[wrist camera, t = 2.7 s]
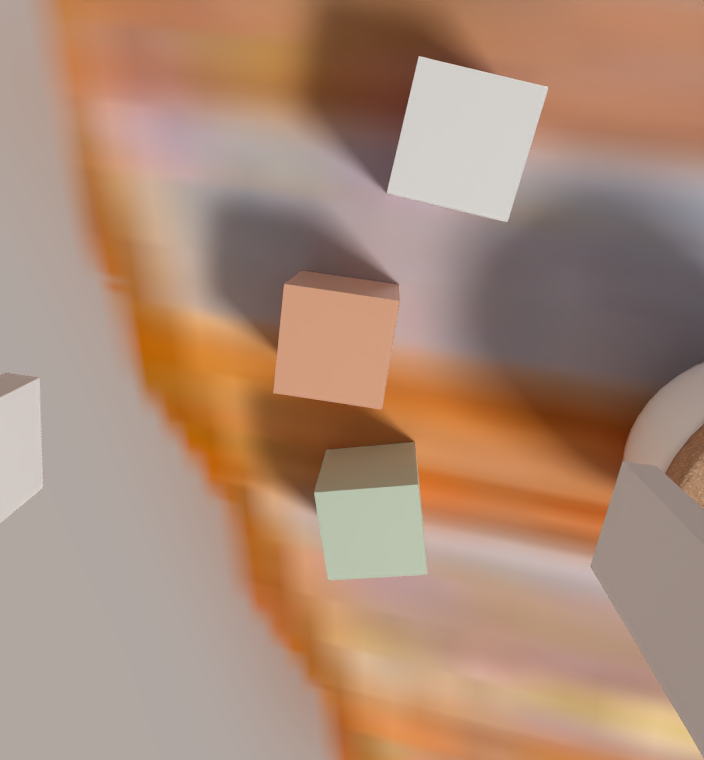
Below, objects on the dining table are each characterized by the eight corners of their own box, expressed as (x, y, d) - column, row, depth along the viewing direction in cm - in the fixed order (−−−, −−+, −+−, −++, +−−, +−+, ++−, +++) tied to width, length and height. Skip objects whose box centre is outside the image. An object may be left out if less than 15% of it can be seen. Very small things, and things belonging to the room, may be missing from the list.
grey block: (414, 82, 26) (418, 56, 21) (520, 108, 26) (548, 87, 21) (388, 194, 27) (386, 193, 23) (487, 218, 27) (507, 222, 23)
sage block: (326, 449, 32) (313, 492, 27) (414, 441, 31) (418, 484, 27) (338, 526, 33) (328, 580, 29) (422, 520, 33) (427, 574, 28)
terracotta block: (302, 270, 29) (283, 283, 24) (398, 284, 29) (399, 300, 24) (292, 362, 30) (273, 392, 26) (383, 376, 30) (382, 409, 26)
